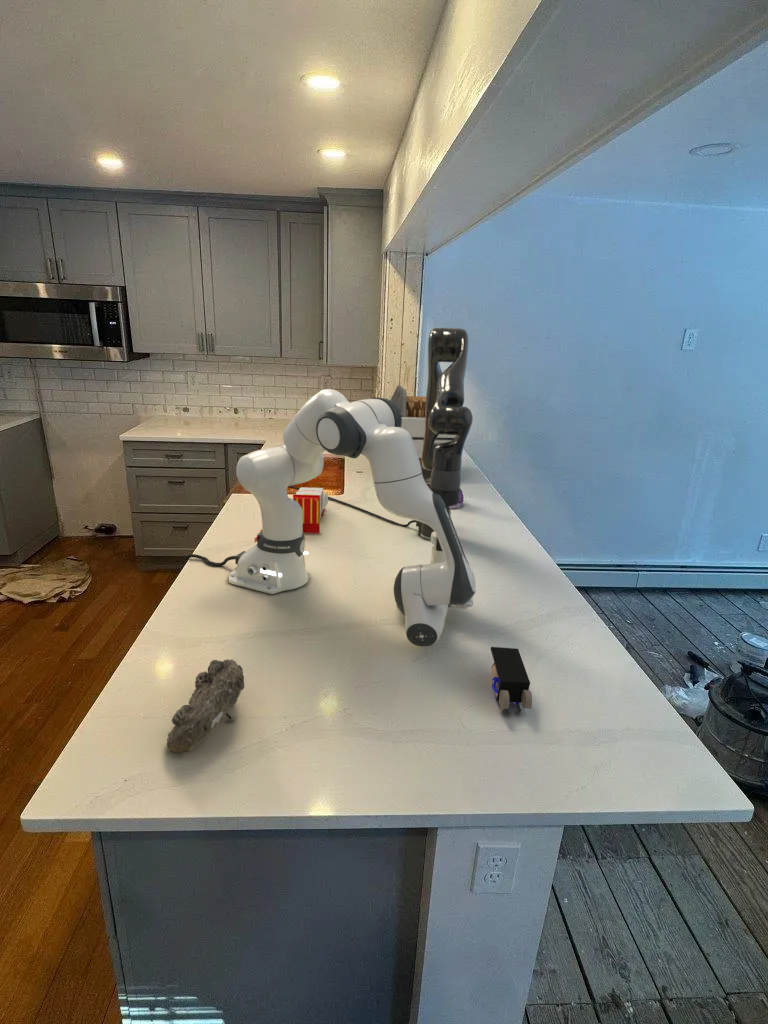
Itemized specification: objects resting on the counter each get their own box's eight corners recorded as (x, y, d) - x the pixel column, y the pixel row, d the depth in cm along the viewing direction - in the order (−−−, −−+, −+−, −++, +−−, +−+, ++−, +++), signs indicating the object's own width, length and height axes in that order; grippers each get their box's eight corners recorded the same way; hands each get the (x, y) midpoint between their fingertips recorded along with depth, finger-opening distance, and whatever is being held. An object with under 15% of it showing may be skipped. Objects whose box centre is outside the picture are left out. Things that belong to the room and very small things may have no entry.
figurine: (450, 510, 225) (453, 474, 220) (436, 502, 234) (439, 467, 228) (469, 507, 229) (473, 472, 224) (455, 500, 238) (458, 465, 233)
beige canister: (444, 598, 157) (450, 539, 151) (440, 605, 153) (447, 545, 147) (429, 594, 158) (435, 536, 152) (425, 601, 154) (431, 542, 148)
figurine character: (531, 725, 112) (514, 671, 125) (537, 696, 108) (519, 644, 122) (497, 724, 111) (484, 671, 125) (502, 695, 108) (488, 644, 121)
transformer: (382, 463, 289) (386, 382, 275) (445, 464, 293) (451, 384, 279) (390, 482, 257) (394, 392, 243) (460, 483, 261) (468, 394, 247)
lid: (439, 537, 153) (439, 529, 152) (453, 543, 149) (454, 535, 149) (426, 541, 149) (427, 533, 149) (441, 547, 146) (441, 539, 145)
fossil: (192, 660, 117) (244, 628, 112) (224, 691, 120) (276, 661, 115) (142, 746, 98) (202, 712, 93) (182, 779, 101) (242, 748, 96)
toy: (329, 482, 221) (323, 496, 191) (328, 516, 224) (322, 535, 194) (297, 482, 220) (287, 495, 191) (297, 515, 223) (287, 534, 194)
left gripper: (473, 597, 138) (476, 573, 151) (391, 586, 142) (401, 563, 155) (471, 619, 141) (474, 594, 153) (390, 608, 144) (400, 584, 157)
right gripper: (430, 475, 151) (425, 535, 157) (430, 492, 137) (425, 556, 143) (458, 477, 150) (453, 536, 156) (461, 494, 137) (455, 558, 143)
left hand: (437, 578), depth 154 cm, fingers closed on beige canister, 4 cm apart
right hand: (440, 545), depth 150 cm, fingers closed on lid, 5 cm apart
